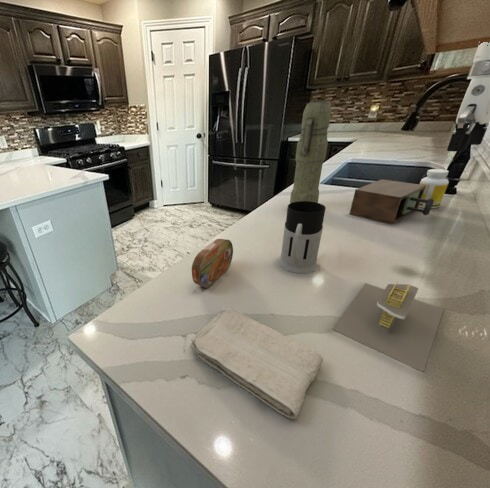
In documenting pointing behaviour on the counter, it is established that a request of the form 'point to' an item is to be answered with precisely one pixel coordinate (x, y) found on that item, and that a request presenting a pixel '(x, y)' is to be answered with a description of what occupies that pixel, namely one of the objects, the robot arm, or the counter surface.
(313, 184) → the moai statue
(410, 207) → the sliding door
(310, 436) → the counter surface
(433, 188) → the pill bottle
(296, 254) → the glass holder
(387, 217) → the cabinet
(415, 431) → the counter surface
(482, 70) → the robot arm
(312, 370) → the washcloth
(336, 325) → the platform
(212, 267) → the tin
